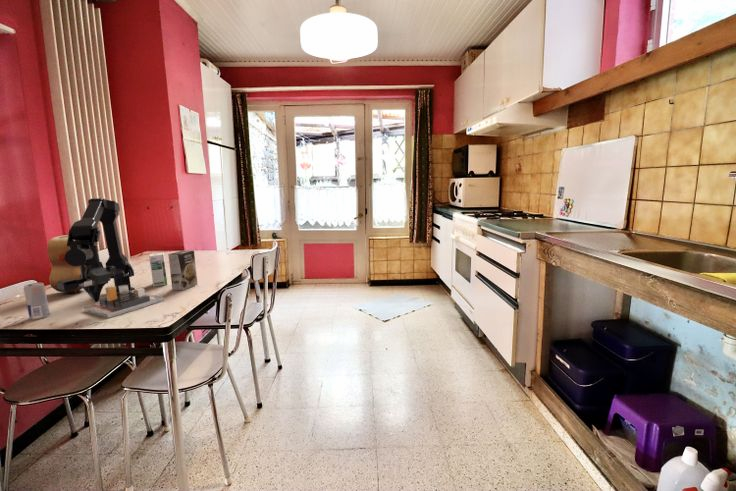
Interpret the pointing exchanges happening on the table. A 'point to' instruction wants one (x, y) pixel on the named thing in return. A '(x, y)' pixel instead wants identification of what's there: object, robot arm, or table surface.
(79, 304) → the table surface
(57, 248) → the butternut squash
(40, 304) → the white carton
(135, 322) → the table surface
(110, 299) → the orange rectangular block
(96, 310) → the panel
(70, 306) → the table surface
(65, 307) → the table surface
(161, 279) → the syrup box
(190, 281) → the coffee box
